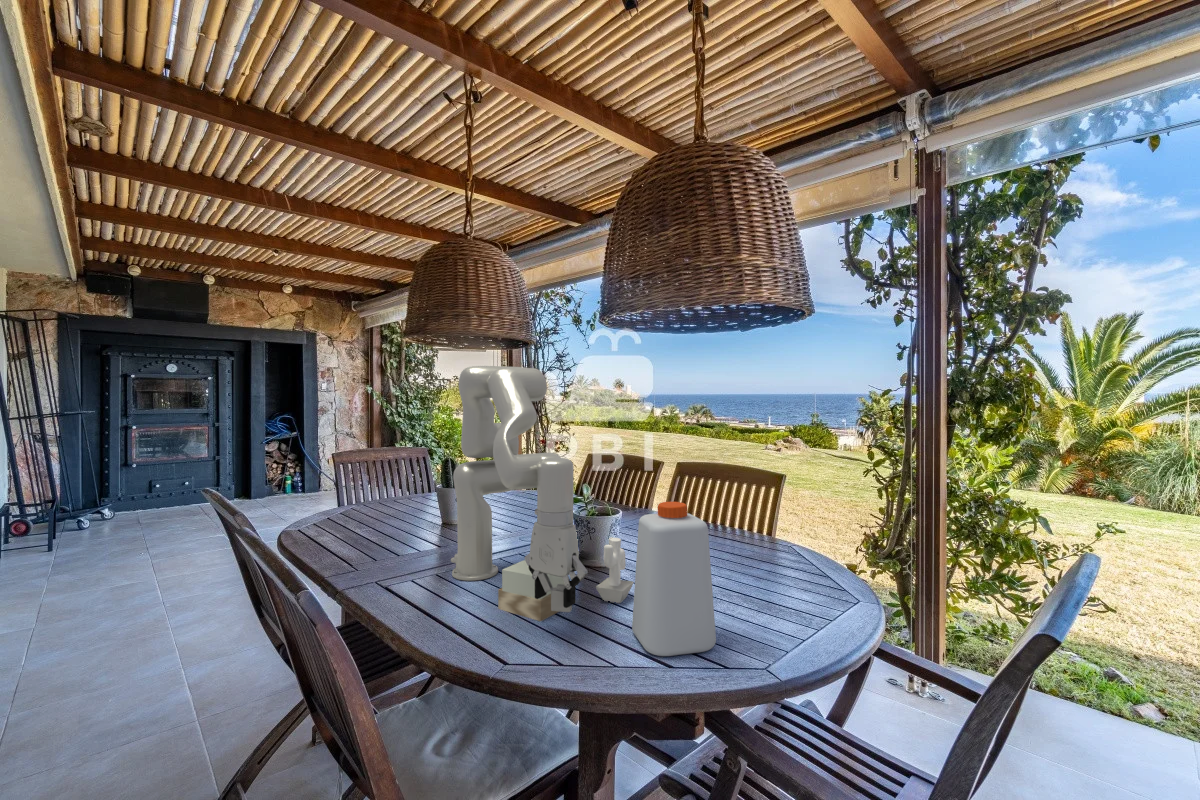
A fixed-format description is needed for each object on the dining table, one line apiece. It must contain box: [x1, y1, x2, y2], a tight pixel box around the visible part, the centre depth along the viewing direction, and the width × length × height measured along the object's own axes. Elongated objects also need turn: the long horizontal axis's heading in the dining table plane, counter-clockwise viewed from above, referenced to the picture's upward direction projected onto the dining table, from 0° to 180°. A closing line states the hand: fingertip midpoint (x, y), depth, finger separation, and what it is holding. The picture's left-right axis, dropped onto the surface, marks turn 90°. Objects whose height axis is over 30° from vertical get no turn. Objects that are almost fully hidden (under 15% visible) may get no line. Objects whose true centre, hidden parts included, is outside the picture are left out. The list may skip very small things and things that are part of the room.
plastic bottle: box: [631, 501, 717, 657], centre depth 114 cm, size 15×15×28 cm
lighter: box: [538, 572, 573, 613], centre depth 116 cm, size 7×2×8 cm, turn 79°
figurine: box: [595, 536, 635, 604], centre depth 136 cm, size 7×9×15 cm
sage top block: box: [501, 559, 565, 599], centre depth 131 cm, size 11×11×5 cm
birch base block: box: [497, 587, 559, 622], centre depth 132 cm, size 13×13×5 cm
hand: (554, 600), depth 116 cm, fingers closed on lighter, 7 cm apart
